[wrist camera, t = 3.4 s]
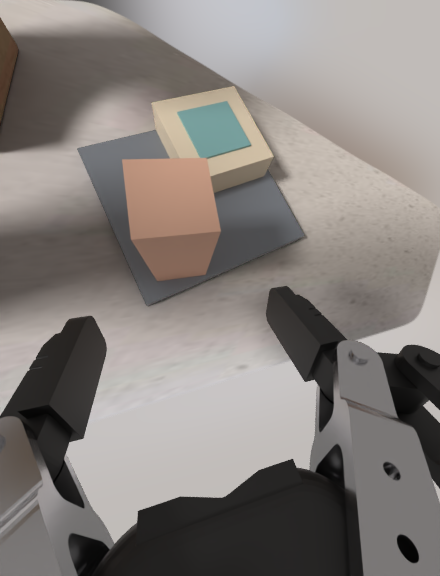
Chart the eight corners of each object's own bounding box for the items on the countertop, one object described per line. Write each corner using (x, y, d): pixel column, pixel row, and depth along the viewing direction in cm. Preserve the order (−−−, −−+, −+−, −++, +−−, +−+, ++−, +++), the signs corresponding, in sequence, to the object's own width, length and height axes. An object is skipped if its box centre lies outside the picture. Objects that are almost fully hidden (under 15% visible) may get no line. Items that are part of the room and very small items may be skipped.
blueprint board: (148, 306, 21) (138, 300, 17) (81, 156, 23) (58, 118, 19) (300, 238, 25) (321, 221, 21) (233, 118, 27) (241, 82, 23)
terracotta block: (205, 274, 21) (221, 231, 12) (157, 281, 20) (130, 239, 11) (198, 231, 22) (206, 157, 12) (151, 236, 21) (121, 159, 12)
